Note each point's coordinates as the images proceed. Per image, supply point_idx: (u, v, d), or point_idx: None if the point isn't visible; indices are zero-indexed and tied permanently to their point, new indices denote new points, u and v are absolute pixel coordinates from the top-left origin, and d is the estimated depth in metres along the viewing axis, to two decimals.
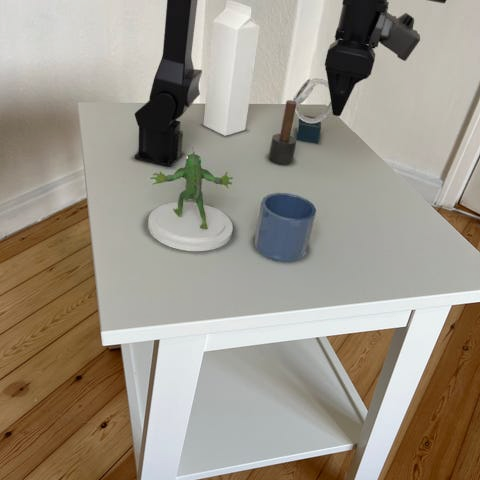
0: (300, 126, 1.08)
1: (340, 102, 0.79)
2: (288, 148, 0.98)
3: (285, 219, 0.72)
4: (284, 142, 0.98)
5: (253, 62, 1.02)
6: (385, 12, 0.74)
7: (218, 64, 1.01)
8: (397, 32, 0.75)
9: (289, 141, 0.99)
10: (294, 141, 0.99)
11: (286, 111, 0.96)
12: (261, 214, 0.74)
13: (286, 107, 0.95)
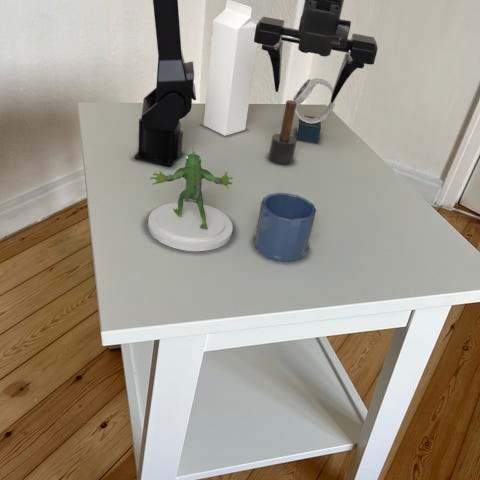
0: (300, 126, 1.08)
1: (274, 77, 0.90)
2: (288, 148, 0.98)
3: (285, 219, 0.72)
4: (284, 142, 0.98)
5: (253, 62, 1.02)
6: (306, 4, 0.81)
7: (218, 64, 1.01)
8: None
9: (289, 141, 0.99)
10: (294, 141, 0.99)
11: (286, 111, 0.96)
12: (261, 214, 0.74)
13: (286, 107, 0.95)
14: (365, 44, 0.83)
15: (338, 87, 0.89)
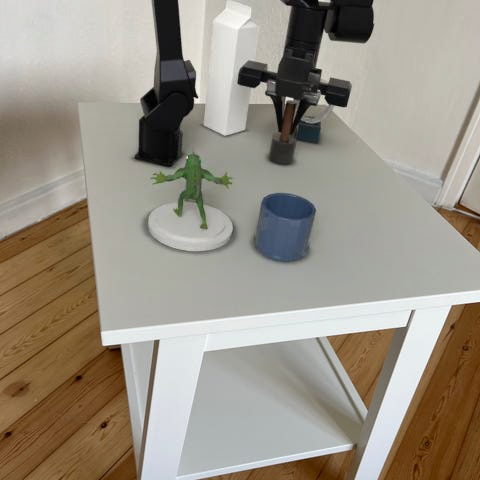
0: (300, 126, 1.08)
1: None
2: (288, 148, 0.98)
3: (285, 219, 0.72)
4: (284, 142, 0.98)
5: None
6: (284, 52, 0.88)
7: (218, 64, 1.01)
8: None
9: (289, 141, 0.99)
10: (294, 141, 0.99)
11: (286, 111, 0.96)
12: (261, 214, 0.74)
13: (286, 107, 0.95)
14: (338, 89, 0.90)
15: (296, 121, 0.96)
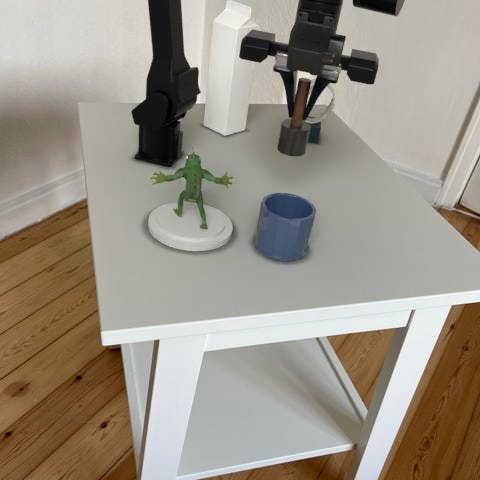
0: None
1: None
2: (300, 136, 0.82)
3: (285, 219, 0.72)
4: (296, 129, 0.81)
5: (253, 62, 1.02)
6: (297, 16, 0.71)
7: (218, 64, 1.01)
8: None
9: (302, 128, 0.82)
10: (308, 128, 0.82)
11: (298, 90, 0.79)
12: (261, 214, 0.74)
13: (299, 86, 0.79)
14: (364, 61, 0.73)
15: (310, 104, 0.79)
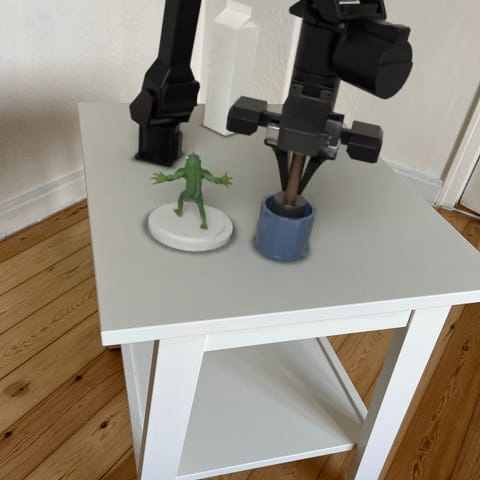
0: None
1: None
2: (295, 212, 0.73)
3: (285, 219, 0.72)
4: (290, 204, 0.73)
5: (253, 62, 1.02)
6: None
7: (218, 64, 1.01)
8: None
9: (296, 202, 0.73)
10: (303, 202, 0.74)
11: (292, 164, 0.70)
12: (261, 214, 0.74)
13: (293, 159, 0.70)
14: (366, 138, 0.65)
15: (306, 178, 0.71)
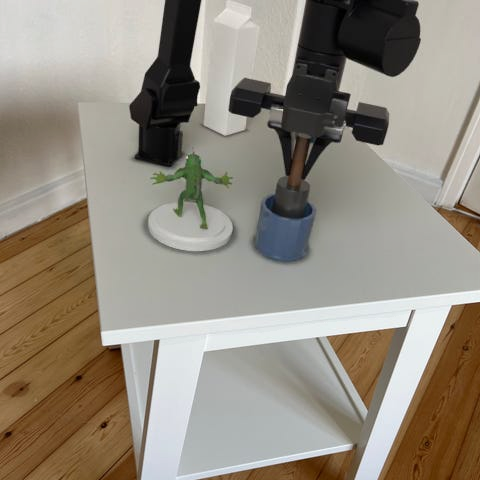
0: None
1: None
2: (299, 197, 0.72)
3: (285, 219, 0.72)
4: (294, 189, 0.71)
5: (253, 62, 1.02)
6: (294, 68, 0.61)
7: (218, 64, 1.01)
8: None
9: (300, 188, 0.72)
10: (307, 187, 0.72)
11: (296, 147, 0.69)
12: (261, 214, 0.74)
13: (297, 143, 0.69)
14: (372, 120, 0.63)
15: (310, 162, 0.69)
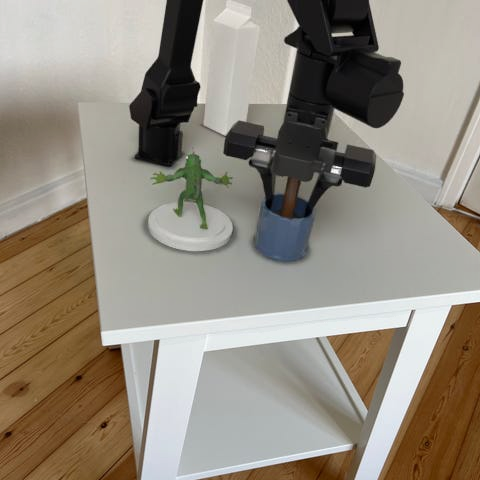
0: None
1: None
2: None
3: (285, 219, 0.72)
4: None
5: (253, 62, 1.02)
6: (285, 115, 0.65)
7: (218, 64, 1.01)
8: None
9: None
10: None
11: (288, 185, 0.72)
12: (261, 214, 0.74)
13: (288, 181, 0.72)
14: (359, 163, 0.67)
15: (312, 203, 0.73)
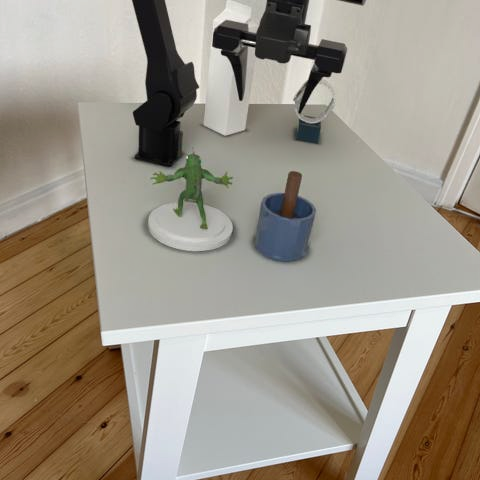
0: (300, 126, 1.08)
1: None
2: None
3: (285, 219, 0.72)
4: None
5: (253, 62, 1.02)
6: (266, 6, 0.74)
7: (218, 64, 1.01)
8: None
9: None
10: None
11: (288, 185, 0.72)
12: (261, 214, 0.74)
13: (288, 181, 0.72)
14: (331, 51, 0.76)
15: (305, 97, 0.82)
